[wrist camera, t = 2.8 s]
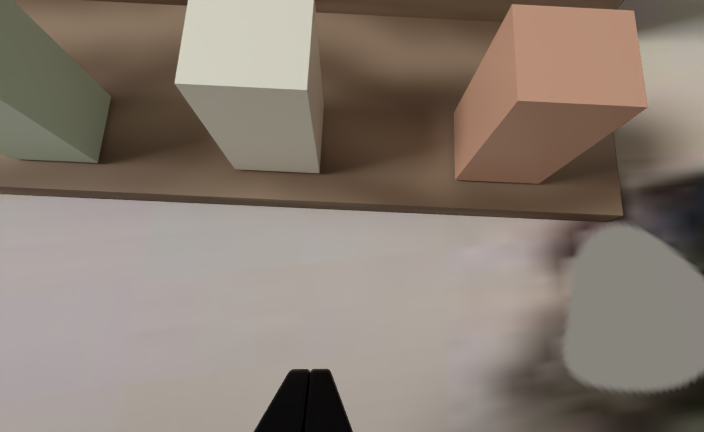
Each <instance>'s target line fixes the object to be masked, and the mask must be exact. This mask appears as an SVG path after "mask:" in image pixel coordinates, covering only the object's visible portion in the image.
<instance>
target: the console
mask: <svg viewBox="0 0 704 432" xmlns="http://www.w3.org/2000/svg"><path fill="white" fill-rule="evenodd" d="M13 1H14V2H15V3H16V4H17V5H18V6H19V7H20V8H21V9H22V10H23V11H24V12H25V13H26V14H27V15H28V16H29V17H30V18H31V19H32V20H33V21H34V22H35V23H36V24H37V25H39V26H40V27H41V28H42V29H43V30H44V31H45V32H46V33H47V34H48V35H49V36H50V37H51V38H52V39H53V40H54V41H55V42H56V43H57V44H58V45H59V46H60V47H61V48H62V49H63V50H64V51H65V52H66V53H67V54H68V55H69V56H70V57H71V58H72V59H73V60H74V61H75V62H76V63H77V64H79V65H80V66H81V67H82V68H83V69H84V70H85V71H86V72H87V73H88V74H89V75H90V76H91V77H92V78H93V79H94V80H95V81H96V82H97V83H98V84H99V85H100V86H101V87H102V88H103V89H104V90H105V91H106V92H107V93H108V94H109V95H110V96H111V100H110V105H109V110H108V115H107V120H106V125H105V130H104V135H103V140H102V145H101V150H100V155H99V160H98V163H89V162H68V161H46V160H25V159H11V158H9V157H7V156H5V155H3V154H1V153H0V194H15V195H37V196H58V197H80V198H102V199H123V200H145V201H166V202H188V203H209V204H231V205H252V206H274V207H296V208H317V209H339V210H360V211H382V212H403V213H425V214H446V215H468V216H489V217H511V218H533V219H554V220H576V221H597V222H608V221H610V220H613V219H616V218H618V217H621V216H623V209H622V201H621V192H620V184H619V176H618V167H617V159H616V150H615V142H614V134H613V132H612V133H610V134H609V135H607V136H606V137H605V138H603V139H602V140H600V141H599V142H598V143H596V144H595V145H593V146H592V147H590V148H589V149H588V150H586V151H585V152H583V153H582V154H580V155H579V156H578V157H576V158H575V159H573V160H572V161H570V162H569V163H568V164H566V165H565V166H563V167H562V168H560V169H559V170H558V171H556V172H555V173H553V174H552V175H550V176H549V177H548V178H546V179H545V180H543V181H542V182H540V183H539V184H532V183H511V182H490V181H469V180H455V156H454V112H455V110H456V108H457V106H458V104H459V102H460V101H461V99H462V97H463V95H464V93H465V91H466V89H467V88H468V86H469V84H470V82H471V80H472V78H473V76H474V74H475V73H476V71H477V69H478V67H479V65H480V63H481V61H482V60H483V58H484V56H485V54H486V52H487V50H488V48H489V46H490V45H491V43H492V41H493V39H494V37H495V35H496V33H497V32H498V30H499V28H500V26H501V24H502V22H503V20H504V18H505V17H506V15H507V13H508V11H509V9H510V7H511V5H512V4H518V5H537V6H556V7H575V8H594V9H613V10H616V9H617V8H618V7H619V6H620V5H621V4H622V3H623V1H624V0H315V9H316V20H317V32H318V44H319V56H320V67H321V79H322V91H323V103H324V112H323V128H322V144H321V159H320V173H302V172H281V171H260V170H239V169H234V167H233V166H232V164H231V163H230V162H229V160H228V159H227V157H226V156H225V155H224V153H223V152H222V150H221V149H220V147H219V146H218V145H217V143H216V142H215V140H214V139H213V137H212V136H211V135H210V133H209V132H208V130H207V129H206V128H205V126H204V125H203V123H202V122H201V120H200V119H199V118H198V116H197V115H196V113H195V112H194V111H193V109H192V108H191V106H190V105H189V103H188V102H187V101H186V99H185V98H184V96H183V95H182V93H181V92H180V91H179V89H178V88H177V86H176V85H175V84H174V83H175V77H176V71H177V65H178V59H179V52H180V46H181V40H182V34H183V28H184V22H185V15H186V9H187V3H188V0H13Z"/></svg>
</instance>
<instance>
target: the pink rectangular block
mask: <svg viewBox="0 0 704 432" xmlns="http://www.w3.org/2000/svg"><path fill="white" fill-rule="evenodd" d="M647 107H648V104H647V97H646V91H645V84H644V77H643V70H642V63H641V56H640V49H639V42H638V35H637V28H636V21H635V14H634V11H633V10H613V9H594V8H575V7H556V6H537V5H518V4H512V5H511V7H510V9H509V11H508V13H507V15H506V17H505V18H504V20H503V22H502V24H501V26H500V28H499V30H498V32H497V33H496V35H495V37H494V39H493V41H492V43H491V45H490V46H489V48H488V50H487V52H486V54H485V56H484V58H483V60H482V61H481V63H480V65H479V67H478V69H477V71H476V73H475V74H474V76H473V78H472V80H471V82H470V84H469V86H468V88H467V89H466V91H465V93H464V95H463V97H462V99H461V101H460V102H459V104H458V106H457V108H456V110H455V112H454V156H455V180H469V181H490V182H511V183H532V184H539V183H540V182H542V181H543V180H545V179H546V178H548V177H549V176H550V175H552V174H553V173H555V172H556V171H558V170H559V169H560V168H562V167H563V166H565V165H566V164H568V163H569V162H570V161H572V160H573V159H575V158H576V157H578V156H579V155H580V154H582V153H583V152H585V151H586V150H588V149H589V148H590V147H592V146H593V145H595V144H596V143H598V142H599V141H600V140H602V139H603V138H605V137H606V136H607V135H609V134H610V133H612V132H613V131H615V130H616V129H617V128H619V127H620V126H622V125H623V124H625V123H626V122H627V121H629V120H630V119H632V118H633V117H635V116H636V115H637V114H639V113H640V112H642V111H643V110H645V109H646V108H647Z"/></svg>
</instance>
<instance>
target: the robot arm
mask: <svg viewBox="0 0 704 432" xmlns="http://www.w3.org/2000/svg"><path fill="white" fill-rule="evenodd" d="M254 432H353V431H352V428H351V425H350V423H349V420H348V417H347V415H346V412H345V409H344V406H343V404H342V401H341V398H340V395H339V393H338V390H337V387H336V385H335V382H334V379H333V376H332V374H331V371H330V370H329V369H313V370H311V372H310V371H309V370H308V369H292V370H291V371H290V372H289V373H288V374H287V376H286V378H285V379H284V381H283V383H282V385H281V386H280V388H279V390H278V391H277V393H276V395H275V396H274V398H273V400H272V402H271V403H270V405H269V407H268V408H267V410H266V412H265V414H264V415H263V417H262V419H261V420H260V422H259V424H258V425H257V427H256V429H255V431H254Z"/></svg>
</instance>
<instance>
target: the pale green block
mask: <svg viewBox="0 0 704 432" xmlns="http://www.w3.org/2000/svg"><path fill="white" fill-rule="evenodd" d="M110 100H111V96H110V95H109V94H108V93H107V92H106V91H105V90H104V89H103V88H102V87H101V86H100V85H99V84H98V83H97V82H96V81H95V80H94V79H93V78H92V77H91V76H90V75H89V74H88V73H87V72H86V71H85V70H84V69H83V68H82V67H81V66H80V65H79V64H77V63H76V62H75V61H74V60H73V59H72V58H71V57H70V56H69V55H68V54H67V53H66V52H65V51H64V50H63V49H62V48H61V47H60V46H59V45H58V44H57V43H56V42H55V41H54V40H53V39H52V38H51V37H50V36H49V35H48V34H47V33H46V32H45V31H44V30H43V29H42V28H41V27H40V26H39V25H37V24H36V23H35V22H34V21H33V20H32V19H31V18H30V17H29V16H28V15H27V14H26V13H25V12H24V11H23V10H22V9H21V8H20V7H19V6H18V5H17V4H16V3H15V2H14V1H13V0H0V153H1V154H3V155H5V156H7V157H9V158H11V159H25V160H46V161H68V162H89V163H98V160H99V155H100V150H101V145H102V140H103V135H104V130H105V125H106V120H107V115H108V110H109V105H110Z"/></svg>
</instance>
